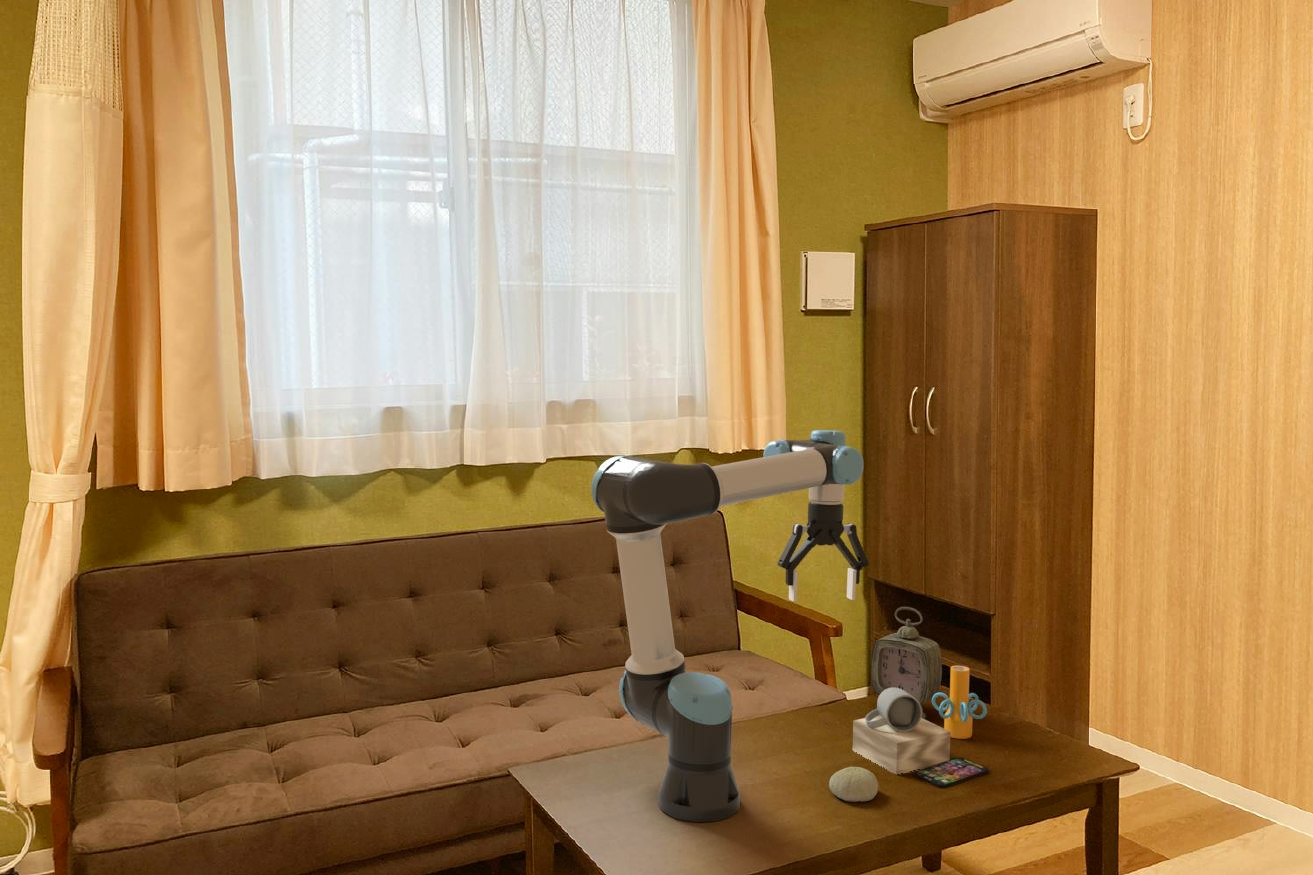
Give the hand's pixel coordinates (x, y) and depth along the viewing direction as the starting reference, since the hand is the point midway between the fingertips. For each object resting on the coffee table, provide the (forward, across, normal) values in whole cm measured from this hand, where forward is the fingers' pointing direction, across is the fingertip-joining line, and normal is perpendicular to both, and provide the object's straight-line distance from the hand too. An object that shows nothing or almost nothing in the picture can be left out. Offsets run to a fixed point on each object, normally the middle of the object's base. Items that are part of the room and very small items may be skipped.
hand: (821, 599), depth 222 cm
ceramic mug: (+24, -11, +13) cm, 30 cm away
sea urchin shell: (+32, +4, +28) cm, 42 cm away
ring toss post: (+30, -32, +5) cm, 44 cm away
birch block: (+31, -13, +13) cm, 36 cm away
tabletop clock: (+30, -28, -11) cm, 42 cm away
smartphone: (+31, -19, +23) cm, 43 cm away
